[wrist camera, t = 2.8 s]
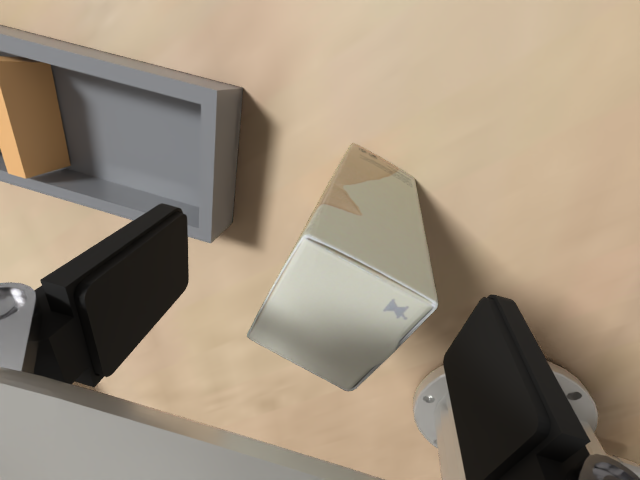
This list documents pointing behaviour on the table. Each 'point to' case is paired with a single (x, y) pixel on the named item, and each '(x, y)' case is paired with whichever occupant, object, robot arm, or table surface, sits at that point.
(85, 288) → the robot arm
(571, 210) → the table surface
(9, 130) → the block
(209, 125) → the gray tray
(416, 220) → the box
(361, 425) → the table surface
